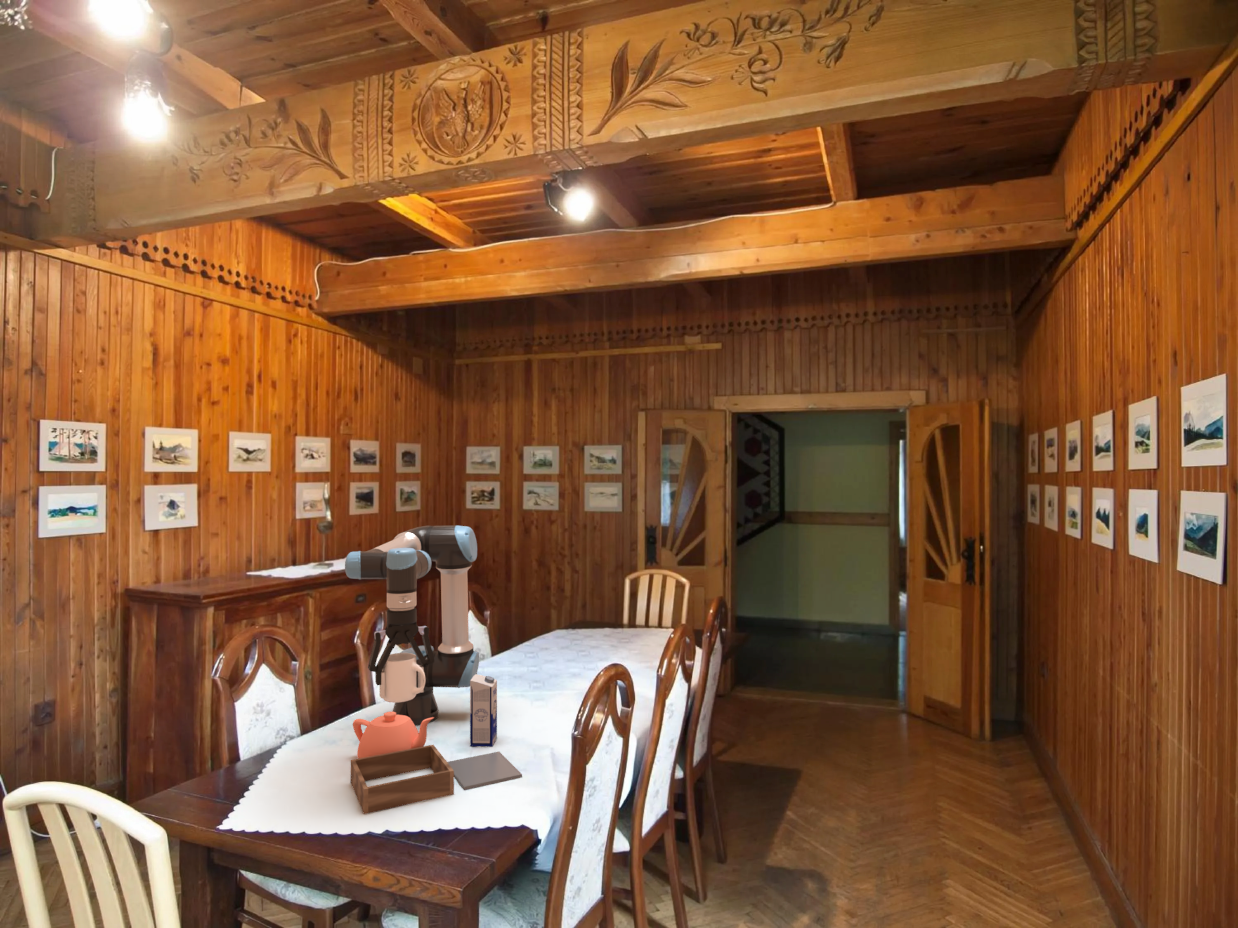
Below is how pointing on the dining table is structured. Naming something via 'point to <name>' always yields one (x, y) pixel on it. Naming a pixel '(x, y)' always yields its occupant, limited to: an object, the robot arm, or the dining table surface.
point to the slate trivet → (483, 770)
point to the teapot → (389, 734)
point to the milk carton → (483, 711)
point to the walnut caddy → (401, 789)
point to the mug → (401, 677)
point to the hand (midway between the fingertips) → (401, 693)
